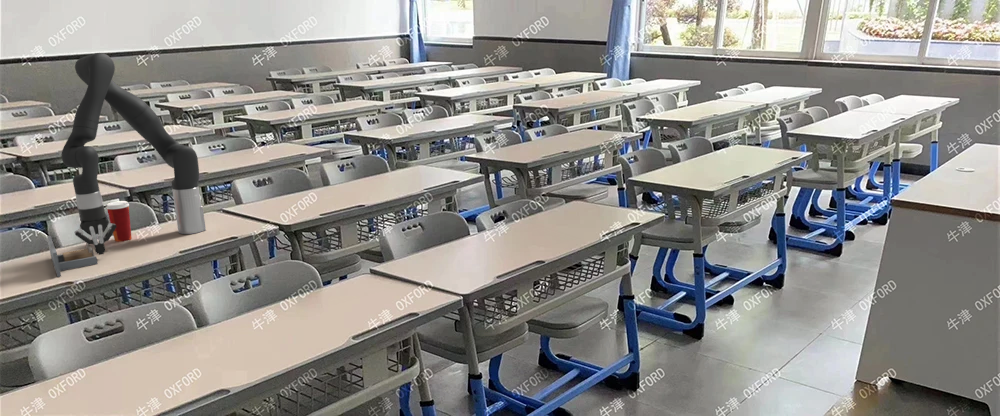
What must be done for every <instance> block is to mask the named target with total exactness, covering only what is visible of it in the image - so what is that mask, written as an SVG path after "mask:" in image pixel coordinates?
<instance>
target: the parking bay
mask: <svg viewBox="0 0 1000 416" xmlns="http://www.w3.org/2000/svg"><path fill="white" fill-rule="evenodd" d="M46 238H47V244H48V248H49V249H48V250H49V253H50V258H51V262H52V265H53V268H54V271H55V274H56V276H57V278H59V277H60V276H61V277H62V274H61V271H67V270H72V269H77V268H78V269H79V268H83V267H88V266H95V265H98V258H97V257H98V256H96V255H94V250H93V248H91V250H92V255H93V257H88V258H83V259H77V260H72V261H66V262H64V258H63V253H62V254H61V253H60V254H58V253H57V249H56V247H55V244H54V242H53V239H52V236H51V235H47V237H46Z"/></svg>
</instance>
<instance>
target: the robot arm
mask: <svg viewBox="0 0 1000 416" xmlns="http://www.w3.org/2000/svg"><path fill="white" fill-rule="evenodd" d="M74 70H75V73H76V74H77V77H79V78H80V80H81V81H82V82H83V83H84V84H86V85H87V87H86V91H85V94H84V95H83V97H82V100H81V101H80V103H79V105H78V107H77V109H76V111H75V114H74V117H73V119H74V120H73V124H72V128H71V129H72V130H71V132H70V135H69V136H68V137H67V140H66V142H65V144H64V146H63V147H62V150H61V161H62V163H63V165H65V167H68V168H70V169H71V168H72V169H73V168H75V169H78V168H79V169H82V171H81V173H80V174H78V175H75V176H73V177H72V183H73V188H74V193H75V203H76V207H77V209H78V210H77V211H78V214H79V220H80V224H79V228H78V229H77V230H75V231H74V235H75V236H76V237H78V238H79V239H80V240H82V241H83V242H85V244H86V243H88V244H90V245H94V250H95V253H96V254H98V255H99V256H101V255H104V254H105V252H106V246H105V243H106V242H108V241H110V239H111V237H112V236H113V232H114V231H115V229H116V227H117V226H116V225H115V224H114V223H113V224H112V223H110V220H109V218H108V219H107V216H106V211H105V210H106V209H105V206H104V200H103V196H102V195H101V194H102V193H101V191H100V187H99V181H98V173H99V162H100V160H99V155H98V152H97V150H96V149H95V148H94V147H92V146H89V145H86V144H88V143H90V142H93V141H94V140H95V139H96V138H97V133H98V129H99V121H100V117H101V114H102V113H101V112H102V110H103V105H104V102H105V101H106V102H107V104H108V105H109V106H111V108H113V110H115V111H116V112H117V113H118V114H119V115H120V116H121V118H122V119H124V121H125V122H126V123H127V124H129V126H130V127H131V128H132V129H133V130H135V131H136V132H137V133H138V135H140V136H141V138H143V139H144V140H145V141H147V142H148V143H149V144H150V145H151V146H152V147H153V148H154V149H155V151H156V152H157V153H158V155H159V156H160V157H161V158H162V160H163V161H164V162H165V164H166V165H168V166H169V167H170V168H172V169H173V172H174V173H173V174H174V179H173V180H172V181H171V189H172V197H173V202H174V203H173V204H174V211H175V216H176V224H177V225H176V226H177V231H178V234H182V235H190V234H191V235H192V234H198V233H200V232H203V231H207V230H206V220H205V214H204V213H205V211H204V208H203V205H202V202H201V195H200V188H199V179H200V169H199V166H200V165H199V159H198V154H197V152H196V151H195V149H193V148H192V147H190V146H188V145H183V144H180V143H179V142H178V141H177V140H175V138H173V137H172V136H171V135H170V133H168V132H167V130H166V129H165V127H164V126H163V123H162V121H161V119H160V118H159V117H158V114H156V112H155V111H154V110H153V109H152V108H151V107H150V106H149V104H147V103H146V102H145V100H143V99H142V98H140V97H139V96H137V95H135V94H134V93H131V91H129V90H126V89H124V88H122V87H121V86H120V85H119V84H117V83H116V82H115V81H114V80H113V78H114V77H113V76H114V74H115V70H116V67H115V63H114V60H113V59H112V58H111V57H110V56H109V55H108V54H106V53H104V52H97V53H96V52H95V53H91V54H88V55H85V56H82V57H80V58H79V59H77V60H76V61H75V65H74ZM106 229H108V230H107V232H106V233H105V231H106ZM84 232H85V233H86V234H87V235H89V236H91V239H90V238H89V237H87V236H85V235H84V234H85V233H84ZM104 233H105V235H104ZM97 237H98V238H97Z"/></svg>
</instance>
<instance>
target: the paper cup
mask: <svg viewBox="0 0 1000 416" xmlns="http://www.w3.org/2000/svg"><path fill="white" fill-rule="evenodd" d="M129 206H130V204H129V202H128V201H126V200H118V201H111V202H109V203H107V204H106V207H105V210H106V209H107V215H108V220H109V222H110V223H112V224H113V223H114V224H115V225H116V226H117V227H116V229H115V231H114V232H113V234H112V236H113V239H114V242H117V243H119V242H120V243H122V242H127V241H130V240H131V239H132V228H131V227H132V226H131V218H130V207H129Z"/></svg>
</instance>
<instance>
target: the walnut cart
mask: <svg viewBox="0 0 1000 416" xmlns="http://www.w3.org/2000/svg"><path fill="white" fill-rule="evenodd" d="M85 245H86V248H83V249H78V250H72V251H66V252H62V254H63V258H64V262H66V261H72V260H77V259H83V258H88V257H93V255H94V254H93V255H92V250H93V249H92V246H91V244H88V243H86V242H85ZM91 249H92V250H91Z"/></svg>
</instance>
